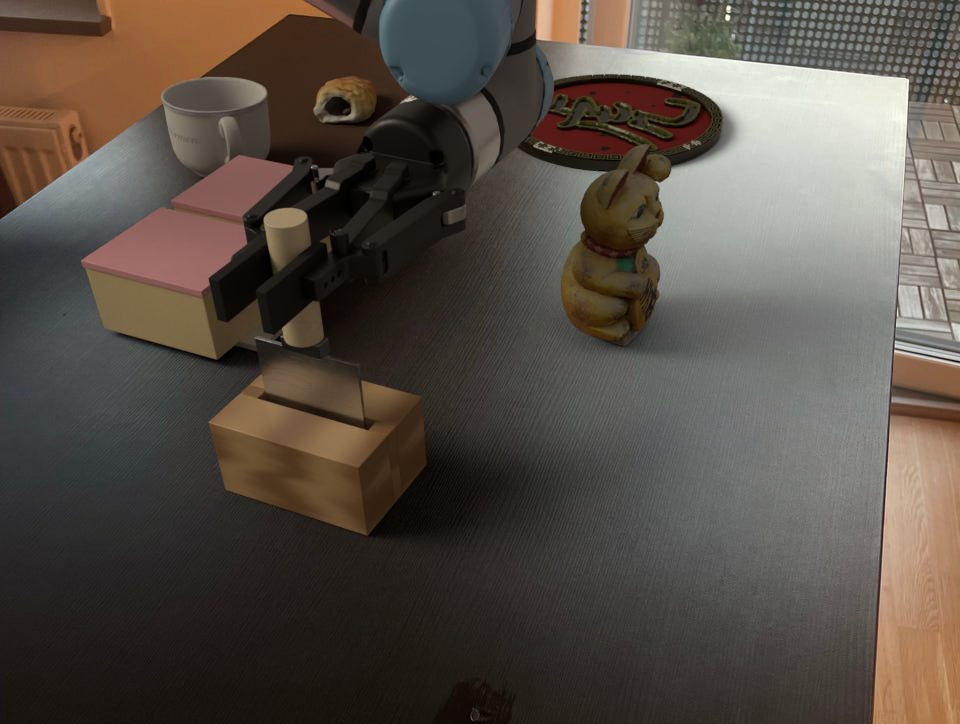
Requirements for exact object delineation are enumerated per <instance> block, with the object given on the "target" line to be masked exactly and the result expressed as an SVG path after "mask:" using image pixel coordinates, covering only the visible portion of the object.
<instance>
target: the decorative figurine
mask: <svg viewBox="0 0 960 724" xmlns="http://www.w3.org/2000/svg"><path fill="white" fill-rule="evenodd" d="M650 148H651V146H650V145H647V144H643V145H639V146H636V147H634V148H633V149H631V150H629V151H628V152H627V154H626V155H625V156H624V157H623V159H622V160H621V162H620V164H619V166H618V168H617V170H613V171H606V172H605V173H602V174H600V175H599V176H598V177H596V178H594V180H593V181H592V182H591V183H590V184H589V186H588V187H587V189H586V190H585V192H584V194H583V197H582V199H581V202H580V207H579V216H580V221H581V224H582V226H583V229H584V230H582V232H581V234H580V235H579V237H580V240H579V241H578V242H576V244H575V245H574V246H573V247H572V248H571V249H570V251H569V253H568V254H567V256H566V259H565V261H564V264H563V267H562V271H561V275H560V296H561V302H562V306H563V310H564V312H565V314H566V316H567V319H568V320H569V322H570V323H571V324H572V326H574V328H576V329H577V330H578V331H580V332H582V333H584V334H586V335H589V336H590V337H594V338H598V339H602V340H603V341H605V342H609V343H613V344H615V345H619V346H624V347H625V346H628V344H630V342H632V341H633V340H635V339H636V337H637V335H638V334H639V333H640V332H641V331H642V330H643V328H644V327H645V326H646V325H647V324H648V322H649V320H650V319H651V317H652V315H653V313H654V310H655V306H656V303H657V301H658V300H659V297H660V291H659V289H658V284H659V282H660V279H661V266H660V264H659V262H658V259H656V257H654V256H653V255H651V254H650V253H648V250H647V248H646V244H648V243H649V242H650V240H651V239H653V238H654V237H655V236H656V234H657V232H658V229H659V228H660V227H662V225H663V223H664V218H665V212H664V209H663V205H662V201H661V199H660V189H661V188H660V186H659V184H660V183H662V182H664V181H665V180H667V179H669V178H670V176H671V173H672V168H673V167H672V165H671V163H670V161H669V159H668V158H666V157H665V156H663V155H659V154H652V155H648V153H649V151H650ZM647 155H648V156H647Z"/></svg>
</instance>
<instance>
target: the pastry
mask: <svg viewBox="0 0 960 724" xmlns="http://www.w3.org/2000/svg"><path fill="white" fill-rule="evenodd" d="M377 95H378V94H377V89H376V86H375V85H374V82H373V81H372V80H370V79H366V78H361V77H359V76H356V75H351V76H344V77H340V78H334V79H331V80H328V81H326V82H325V84H324V85H323V86H321V87H320V88H319V90H318V92H317V94H316V102H315V106H314V107H313V114H314V115H315V117H316V118H317V119H318V120H319V122H320V123H322V124H333V125H334V124H340V123H347V124H355V123H361V122H362V123H363V122H365V121H366V120H368V119H370V118H371V117H372V115H373V114H374V113H375V111H376V110H375V109H376V106H377V102H378V99H377V97H378V96H377Z"/></svg>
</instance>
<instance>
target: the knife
mask: <svg viewBox="0 0 960 724" xmlns="http://www.w3.org/2000/svg"><path fill="white" fill-rule="evenodd" d="M264 225H265V231H266V237H267V243H268V249H269V254H270V260H271V266H272V272H273V276H274V275H275V274H276V273H277V272H279V271H280V270H281V269H282V268H283V267H285V266H286V265H287V264H288V263H290V262H291V261H292V260H293V259H294V258H296V257H297V256H298V255H299V254H301V253H302V252H303V251H304V250H306V249H307V248H308V247H309V246H310V245H311V239H310V231H309V224H308V217H307V214H306V213H305V212H304V211H302V210H300V209H296V208H281V209H277V210H274V211H271V212H269V213H268V214H266V216H265V217H264ZM282 330H283V333H282V334H281V335H280V336H279V337H280V341H278V340H270V339H267V338H263V337H259V336H256V337H255V342H256V347H257V351H256V352H257V357H258V362H259V367H260V372H261V374H262V378H263V383H264V388H265V393H266V398H267V401H268V402H271V403H275V404H278V405H282V406H285V407H288V408H292V409H295V410H299V411H302V412H306V413H309V414H313V415H316V416H320V417H323V418H327V419H330V420H334V421H337V422H341V423H344V424H348V425H351V426H354V427H358V428H361V429H365V430H367V426H366V417H365V409H364V400H363V391H362V382H361V380H362V375H361V366H360V365H361V364H360V363H359V362H355V361H352V360H348V359H344V358H341V357H337V356H333V355H330V354H328V353H329V352H330V351H331V348H330V341H329V337H326V336H325V332H324V325H323V319H322V311H321V304H320V301H318V302H315V301H312V302H311V303H310V304H309V305H308V306H307V307H306V308H305V309H303V310H302V311H301V312H300V313H299V314H298V315H297V316H295V317H294V318H293V319H292V320H291V321H290V322H289V323H287V324H286V325H285V326H284V327H283V328H282Z"/></svg>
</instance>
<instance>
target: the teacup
mask: <svg viewBox="0 0 960 724" xmlns="http://www.w3.org/2000/svg"><path fill="white" fill-rule="evenodd" d="M160 94H161V95H160V100H161V103H162V104H163V109H164V114H165V120H166V126H167V130H168V135H169V140H170V143H171V146H172V149H173V152H174V154H175V156H176V158H177V159H178V160H179V162H180V163H182V164H183V165H184V166H185V167H187V169H190V170H192V172H193V173H194V174H196V175H198V176H199V177H201V178H203V179H204V178H205V177H207V176H208V175H210V174H211V173H213V172H214V171H216V170H217V169H219V168H220V167H222V166H223V165H225V164H226V163H228V162H229V161H231V160H232V159H234V158H235V157H237V156H238V155H242V156H247V157H252V158H257V159H261V160H266V159H267V158H268V155H269V153H270V150H271V149H270V148H271V125H270V113H269V105H268V104H269V103H268V97H269V93H268V89H267V88H266V87H265V86H264V85H262V84H261V83H258V82H255V81H254V80H249V79H245V78H241V77H240V78H239V77H231V76H205V77H196V78H191V79H187V80H183V81H180V82H177V83H174V84H172V85H170V86H168V87H167V88H165V89H164V90H163V91H162V93H160Z"/></svg>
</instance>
